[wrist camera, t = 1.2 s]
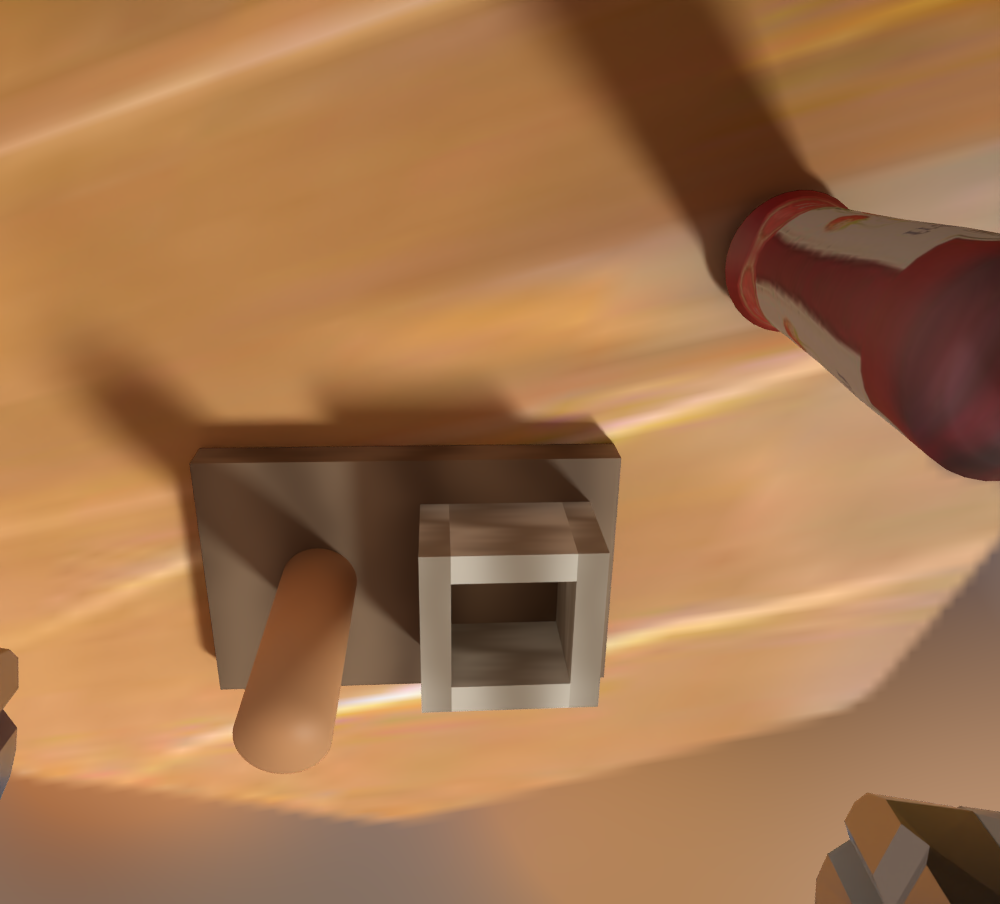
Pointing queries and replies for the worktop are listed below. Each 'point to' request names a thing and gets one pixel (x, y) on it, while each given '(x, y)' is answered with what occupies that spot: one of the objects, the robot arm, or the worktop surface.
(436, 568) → the well board
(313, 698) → the peg
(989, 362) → the liquor
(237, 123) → the worktop surface
